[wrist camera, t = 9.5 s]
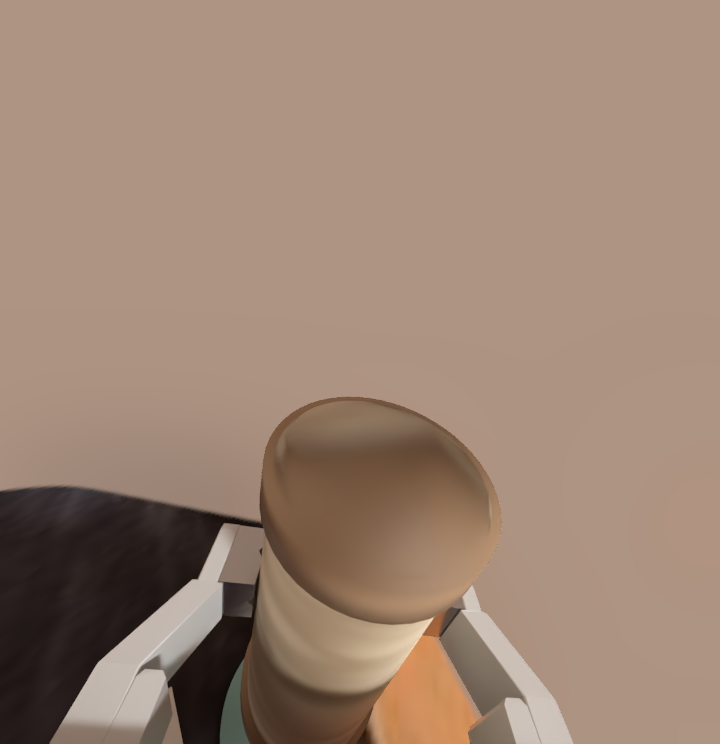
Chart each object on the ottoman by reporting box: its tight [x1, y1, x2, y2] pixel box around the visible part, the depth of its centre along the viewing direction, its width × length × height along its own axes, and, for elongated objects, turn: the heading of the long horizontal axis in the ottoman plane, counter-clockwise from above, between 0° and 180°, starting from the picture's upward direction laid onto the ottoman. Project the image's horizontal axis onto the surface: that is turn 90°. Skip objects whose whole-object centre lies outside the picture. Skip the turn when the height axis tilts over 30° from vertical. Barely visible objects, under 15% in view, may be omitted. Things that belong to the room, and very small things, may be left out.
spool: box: [240, 397, 502, 744], centre depth 9 cm, size 5×5×12 cm
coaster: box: [220, 658, 250, 744], centre depth 14 cm, size 6×6×1 cm
